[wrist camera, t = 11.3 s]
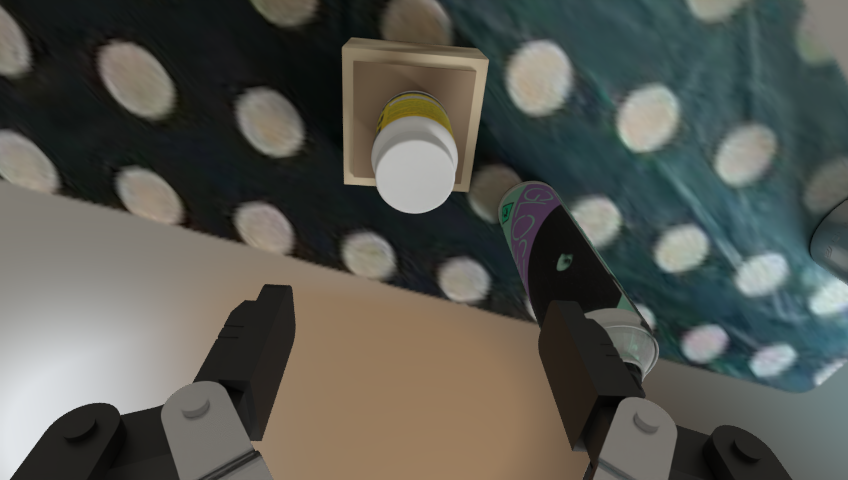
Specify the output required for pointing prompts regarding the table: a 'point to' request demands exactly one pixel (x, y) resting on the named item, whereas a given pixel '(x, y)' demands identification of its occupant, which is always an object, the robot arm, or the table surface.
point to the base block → (409, 71)
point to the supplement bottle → (414, 153)
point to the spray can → (571, 272)
